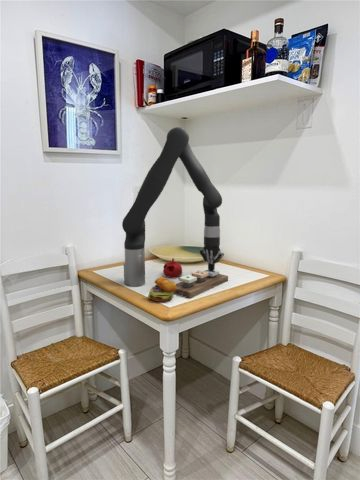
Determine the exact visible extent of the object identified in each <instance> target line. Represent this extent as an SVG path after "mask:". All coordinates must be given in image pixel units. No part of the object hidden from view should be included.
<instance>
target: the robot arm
mask: <svg viewBox="0 0 360 480" xmlns="http://www.w3.org/2000/svg"><path fill="white" fill-rule="evenodd" d="M166 134H167V135H166V140H165V143H164V145H163V148H162V150H161V153H160V155H159V156H158V157H157V159H156V160H155V162H154V163H153V164H152V166H150V167H151V168H149V170H148V172H147V174H146V176H145V177H144V179H143V181H142V184H141V186H140V188H139V191H138V193H137V194H136V195H137V196H136V198H135V200H134V202H133V204H132V206H131V207H130V208H129V210H128V212H127V213H126V215H125V216H124V218H123V219H122V223H121V224H122V225H121V226H122V229H123V231H124V232H125V239H124V263H123V283H125V285H127V286H129V287H141V286H143V285H145V284H146V256H145V255H146V253H145V248H146V247H145V246H146V245H145V242H146V221H145V219H146V217H147V215H148V213H149V211H150V209H151V208H152V207H153V206H154V204H155V202H156V201H157V200H158V198H159V197H160V196H161V193H162V192H163V190H164V188H165V186H166V185H167V184H168V183H167V182H168V181H169V179H170V176H171V174H172V172H173V169H174V167H175V164H176V162H177V161H178V159H180V161H181V163H182V164H183V165H184V168H185V169H186V172H187V174H188V176H189V177H190V179H191V180H192V183H193V185H194V186H195V187H196V189H197V191H198V192H200V193H201V194H202V196H203V197H202V207H203V208H202V209H203V214H204V228H203V249H201V250H199V254H200V255H201V257H202V258H203V260H204V262H207V270H209V271H214V270H216V269H215V268H216V267H215V265H216V264H217V263H219V262H221V260H222V258H223V257H224V255H225V254H224V253H222V252H221V248H220V244H221V243H220V242H221V229H220V228H221V227H220V224H221V222H220V221H221V216H220V214H219V213H218V208H220V207H221V206H222V203H223V197H222V195H221V193H220V191H219V190H218V189H217V188H216V187H215V185H214V184H213V183H212V181H211V179H210V176H209V175H208V174H207V172H206V170H205V169H204V167H203V166H202V164H201V163H200V161H199V160H198V159H197V157H196V155H195V154H194V151H193V150H192V148H191V146H190V143H189V141H190V136H189V133H188V131H187V130H186V129H185V128H183V127H181V126H180V127H178V126H177V127H173V128H171V129H170V130H169V131H168V132H167V133H166Z"/></svg>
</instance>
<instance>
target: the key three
mask: <svg viewBox="0 0 360 480" xmlns="http://www.w3.org/2000/svg"><path fill="white" fill-rule="evenodd" d="M203 271H204V272H208V273H209V276H207V277H209V278H214V277H215V275H217V274H220V270H216V269H214V271H209V270H208V269H205V270H203Z"/></svg>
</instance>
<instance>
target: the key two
mask: <svg viewBox="0 0 360 480" xmlns="http://www.w3.org/2000/svg"><path fill="white" fill-rule="evenodd" d="M204 271H205V270H196V271H193V272H191V276H194V277H197V280H196V282H200V283H201V282H204V281H205V277H206V276H209V273H208V272H204Z"/></svg>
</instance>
